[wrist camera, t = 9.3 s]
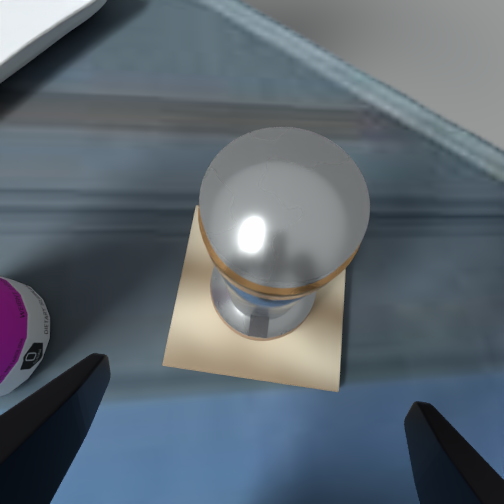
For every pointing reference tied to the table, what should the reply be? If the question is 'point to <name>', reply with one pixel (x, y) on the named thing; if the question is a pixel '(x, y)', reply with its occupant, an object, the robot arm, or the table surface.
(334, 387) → the beige square tile
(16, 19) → the salad plate
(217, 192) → the grey tall flared piece
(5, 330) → the supplement can
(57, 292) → the table surface
